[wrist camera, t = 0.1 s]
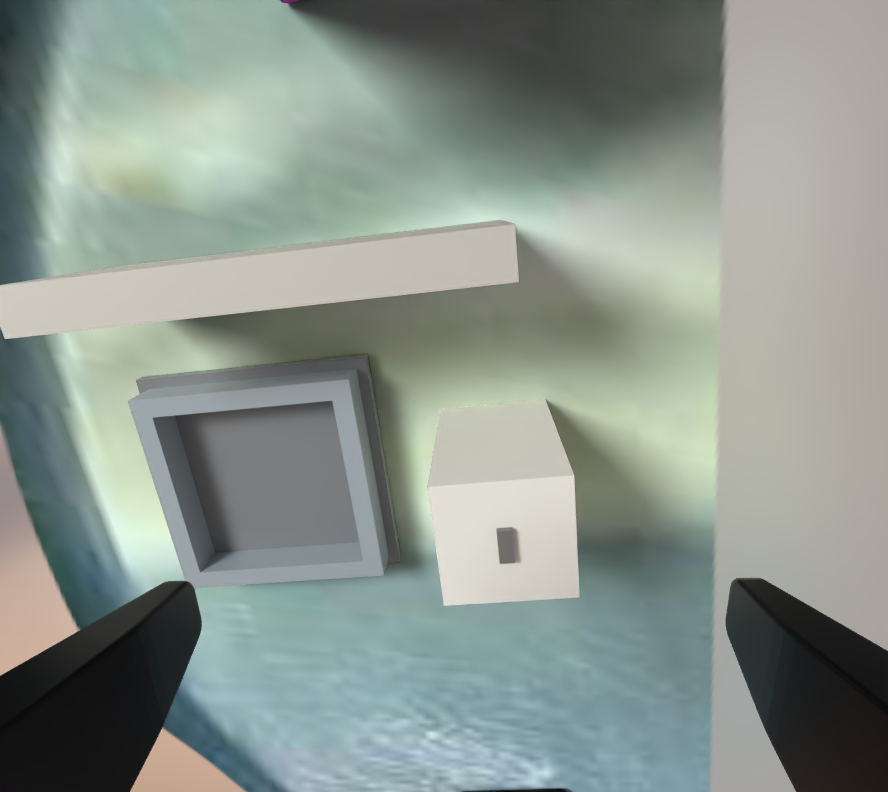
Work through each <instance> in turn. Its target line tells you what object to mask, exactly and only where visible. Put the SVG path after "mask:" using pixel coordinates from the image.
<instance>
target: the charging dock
mask: <svg viewBox="0 0 888 792" xmlns="http://www.w3.org/2000/svg"><path fill="white" fill-rule="evenodd" d="M136 382H137V386H138V389H139V392H140V395H138V396H136V397H134V398H132V399H130V400H129V401H128V403H129V406H130V409H131V413H132V416H133V419H134V422H135V425H136V428H137V431H138V434H139V438H140V441H141V444H142V447H143V450H144V453H145V456H146V459H147V463H148V466H149V469H150V472H151V475H152V478H153V481H154V484H155V488H156V491H157V494H158V497H159V500H160V503H161V506H162V509H163V513H164V516H165V519H166V522H167V525H168V528H169V531H170V534H171V538H172V541H173V544H174V547H175V550H176V553H177V556H178V559H179V563H180V566H181V569H182V572H183V575H184V578H185V581H188V582H190V583H191V584H192V585H193V587H194V588H201V587H216V586H231V585H247V584H262V583H277V582H292V581H307V580H322V579H338V578H353V577H368V576H383V575H384V573H385V569H386V565H387V563H400V559H401V552H400V546H399V540H398V534H397V528H396V522H395V516H394V510H393V504H392V498H391V492H390V486H389V480H388V474H387V468H386V462H385V456H384V450H383V444H382V438H381V432H380V426H379V420H378V414H377V408H376V402H375V396H374V389H373V383H372V377H371V371H370V365H369V359H368V354H364V355H354V356H344V357H334V358H324V359H314V360H305V361H295V362H285V363H275V364H265V365H255V366H246V367H236V368H226V369H216V370H206V371H196V372H187V373H177V374H167V375H157V376H147V377H142V378H140V379H138V380H136Z"/></svg>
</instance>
